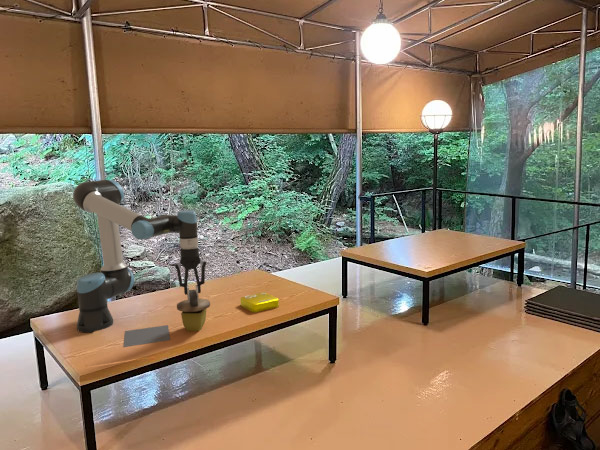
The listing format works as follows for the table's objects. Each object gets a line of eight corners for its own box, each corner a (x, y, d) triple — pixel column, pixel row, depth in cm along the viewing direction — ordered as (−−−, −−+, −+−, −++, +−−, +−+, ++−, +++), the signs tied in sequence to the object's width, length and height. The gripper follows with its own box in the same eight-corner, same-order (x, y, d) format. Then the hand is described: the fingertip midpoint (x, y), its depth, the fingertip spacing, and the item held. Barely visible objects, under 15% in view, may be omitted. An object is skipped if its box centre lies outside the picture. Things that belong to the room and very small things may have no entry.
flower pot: (208, 326, 210) (206, 306, 208) (202, 333, 201) (200, 313, 199) (188, 326, 210) (187, 306, 209) (182, 333, 202) (180, 313, 200)
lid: (177, 313, 195) (176, 299, 194) (175, 303, 208) (174, 289, 207) (212, 309, 199) (211, 295, 198) (208, 299, 213) (207, 286, 212)
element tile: (253, 314, 224) (253, 304, 223) (239, 305, 237) (238, 296, 236) (280, 307, 232) (280, 297, 232) (265, 299, 245) (265, 290, 244)
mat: (123, 348, 188) (123, 347, 188) (125, 332, 205) (125, 331, 205) (170, 341, 194) (170, 340, 194) (168, 326, 211) (168, 325, 211)
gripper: (170, 251, 194) (174, 306, 198) (209, 247, 199) (213, 301, 202) (169, 247, 201) (173, 300, 205) (207, 244, 206) (210, 296, 210)
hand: (193, 300), depth 204 cm, fingers closed on lid, 3 cm apart
